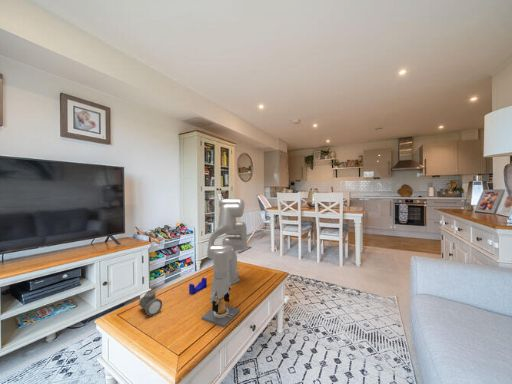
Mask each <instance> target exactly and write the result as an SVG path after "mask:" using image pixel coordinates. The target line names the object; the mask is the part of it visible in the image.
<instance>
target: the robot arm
mask: <svg viewBox="0 0 512 384" xmlns="http://www.w3.org/2000/svg"><path fill="white" fill-rule="evenodd" d="M218 206H219V212H218V213H219V215H218V224H217V228H216V229H215V230H214V231H213V232H212V233H211V235H210V237H209V239H208V243H207V249H206V250H207V255H206V256H207V257H208V259H210V260H212V261H213V277H212V283H211V290H210V294H211V295H210V297H209V301H210V304H212V308H211V309H212V310H213V311H214V312H218V304H217V303H218V301H219V299H220V298H222V297H223V298H224V300H225V303H226V302H227V303H229V302H230V294H231V289H232V288H231V287H232V285H235V284H237V283H239V282H240V277H239V276H238V275H239V274H240V272H241V271H239V270H238V254H237V253H236V252H235V251H245V250H246V249H247V246H248V243H247V242H248V240H247V239H248V231H247V230H248V229H247V223H246V222H244V221H237V218H241V217H243V214H244V211H245V201H244V199H242V198H222V199H219V201H218ZM224 234H225V235H226V236H225V237H224V238H222V241H221V243H222V244H215V241H216V239H217V238H219V237H220V236H222V235H224ZM215 300H216V301H215Z"/></svg>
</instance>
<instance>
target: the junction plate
mask: <svg viewBox="0 0 512 384" xmlns="http://www.w3.org/2000/svg"><path fill="white" fill-rule="evenodd" d="M239 313H240V308H237V307H233V306H230V305H226V304H225V314H221V315H219V314H217V312H214V311H213V310H212V308H210V309H209V310H208V311H207V312H206V313H205V314H203V315H202V316H201V320H202V321H205V322H207V323H210V324H212V325H213V324H214V325H216V326H219V327H221V326H222V328H224V327H225V326H226V325H227V324H228V323H229V324H230V323H231V321H232V320H233V319H234V318H236V316H237V315H239ZM229 324H228V325H229ZM228 325H227V326H228ZM227 326H226V327H227ZM226 327H225V328H226Z"/></svg>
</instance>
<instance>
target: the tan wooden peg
mask: <svg viewBox="0 0 512 384" xmlns="http://www.w3.org/2000/svg"><path fill="white" fill-rule="evenodd" d="M217 304H218V312H217V314H219V315H221V314H225V305H226V301H225V300H224V296H223V297H222V298H220V299H219V301H218V303H217Z"/></svg>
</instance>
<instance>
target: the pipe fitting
mask: <svg viewBox="0 0 512 384" xmlns="http://www.w3.org/2000/svg"><path fill="white" fill-rule="evenodd" d="M156 295H157V292H156V291H154V290H151V291H148V292H146V293H145V294H144V296H142V297H141V299H140V300H139V304H138V305H139V306H140V307H141V308H142V309H144V311H145V313H146V314H147V316H150V317H154V316H156V315H158V313H160V311H161V310H162V307H163V301H162V300H161V299H159V298H156Z"/></svg>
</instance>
